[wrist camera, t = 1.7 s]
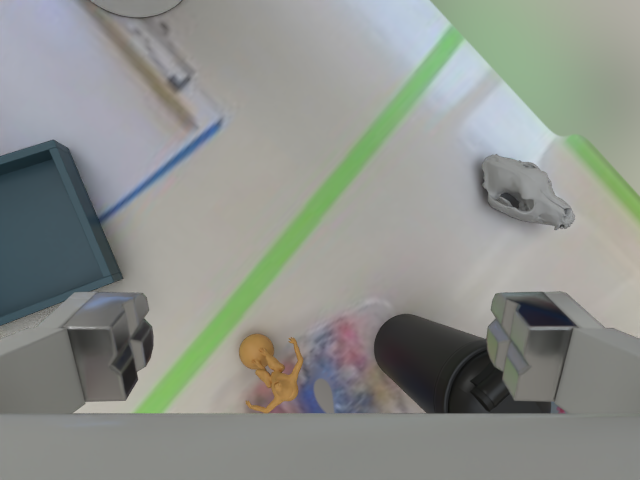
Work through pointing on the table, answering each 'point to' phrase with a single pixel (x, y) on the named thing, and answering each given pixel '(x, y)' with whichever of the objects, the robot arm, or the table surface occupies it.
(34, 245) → the teal square tray
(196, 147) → the table surface
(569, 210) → the skull
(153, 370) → the table surface
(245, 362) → the figurine
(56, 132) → the table surface
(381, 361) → the water bottle
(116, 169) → the table surface
